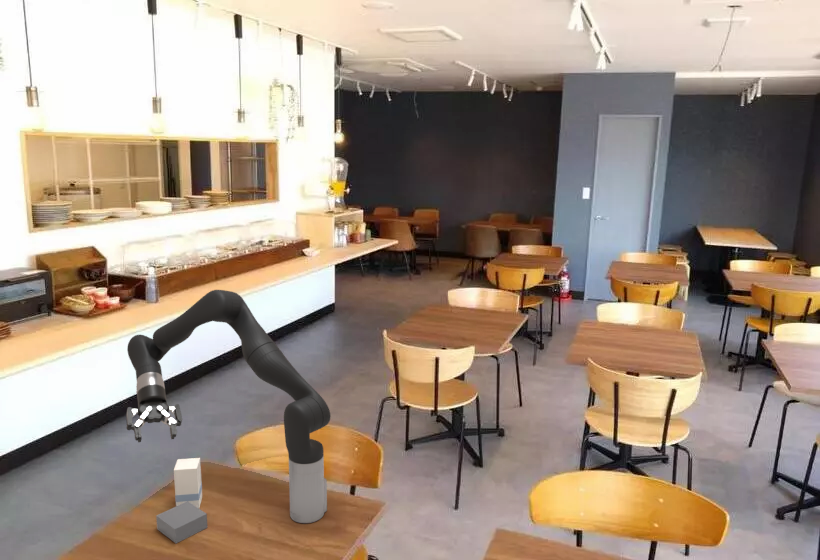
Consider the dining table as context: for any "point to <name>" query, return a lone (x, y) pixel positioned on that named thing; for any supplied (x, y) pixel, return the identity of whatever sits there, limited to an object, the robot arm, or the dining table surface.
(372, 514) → the dining table surface
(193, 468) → the milk carton
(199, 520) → the block
